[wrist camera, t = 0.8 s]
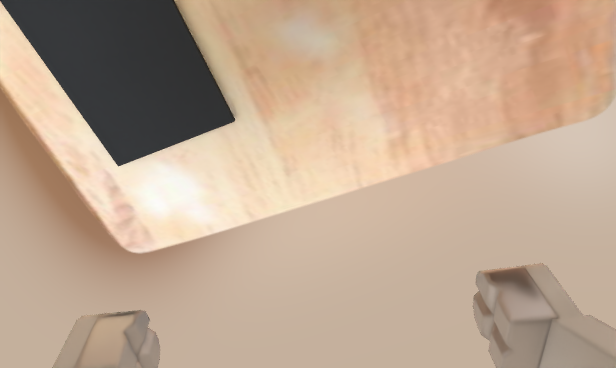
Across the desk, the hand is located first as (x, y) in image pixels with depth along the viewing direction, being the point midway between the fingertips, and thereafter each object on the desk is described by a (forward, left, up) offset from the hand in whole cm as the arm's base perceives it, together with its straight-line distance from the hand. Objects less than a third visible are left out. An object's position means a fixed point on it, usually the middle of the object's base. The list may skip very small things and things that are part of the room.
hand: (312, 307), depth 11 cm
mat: (-6, -14, -30) cm, 33 cm away
